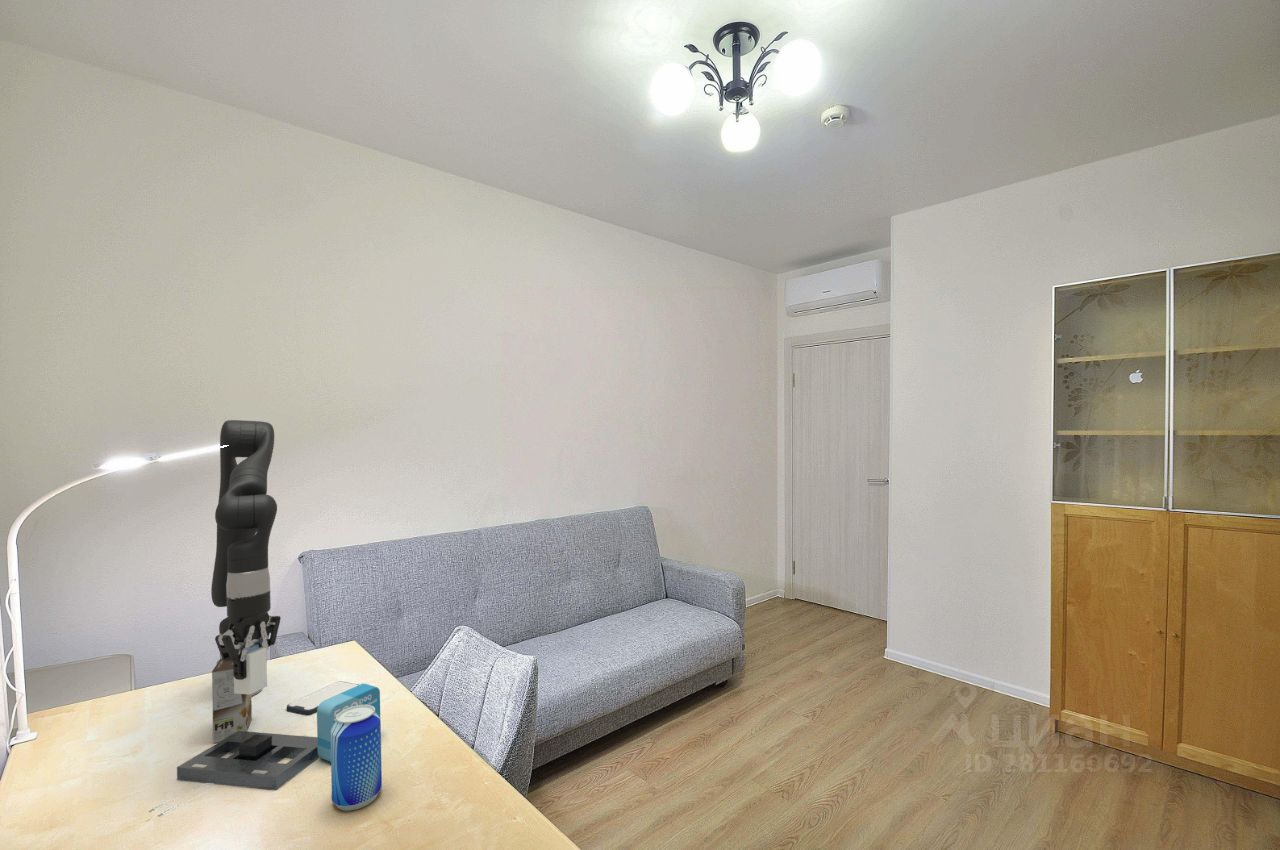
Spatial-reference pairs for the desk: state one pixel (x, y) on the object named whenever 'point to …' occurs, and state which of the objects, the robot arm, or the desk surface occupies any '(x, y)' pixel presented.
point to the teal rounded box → (335, 705)
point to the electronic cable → (174, 799)
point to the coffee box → (228, 703)
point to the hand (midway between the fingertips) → (250, 673)
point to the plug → (253, 671)
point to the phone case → (318, 698)
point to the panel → (251, 760)
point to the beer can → (356, 757)
